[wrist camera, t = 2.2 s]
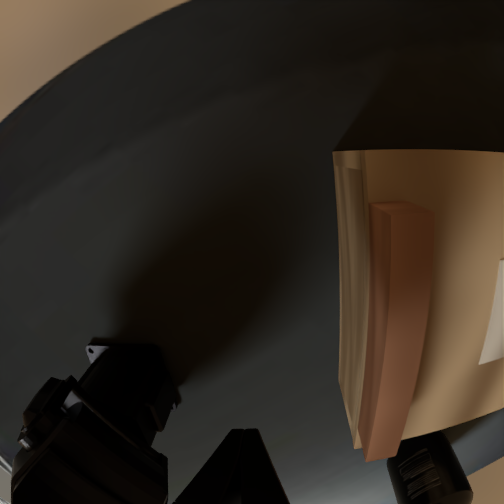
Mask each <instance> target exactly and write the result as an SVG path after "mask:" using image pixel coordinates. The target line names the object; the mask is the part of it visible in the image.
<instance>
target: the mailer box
mask: <svg viewBox="0 0 504 504" xmlns="http://www.w3.org/2000/svg"><path fill="white" fill-rule="evenodd" d="M332 153H333V164H334V176H335V189H336V203H337V220H338V240H339V271H340V348H339V378H338V380H339V384H340V388H341V392H342V396H343V400H344V404H345V408H346V412H347V417H348V421H349V425H350V429H351V434H352V438H353V436H354V429H355V422H356V414H357V406H358V397H359V387H360V377H361V365H362V352H363V337H364V317H365V281H366V246H365V210H364V190H363V175H362V162H361V150H356V151H335V152H332Z"/></svg>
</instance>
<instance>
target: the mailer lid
mask: <svg viewBox="0 0 504 504" xmlns="http://www.w3.org/2000/svg"><path fill="white" fill-rule="evenodd" d="M361 162H362V175H363V190H364V210H365V246H366V281H365V317H364V337H363V352H362V365H361V377H360V387H359V397H358V406H357V414H356V422H355V429H354V436H353V446H354V449H358V448H362V449H363V453H364V457H365V461H366V462H369V461H374V460H379V459H384V458H389V457H393V456H396V454H397V451H398V448H399V445H400V441H401V440H403V439H408V438H412V437H416V436H420V435H424V434H427V433H431V432H434V431H438V430H441V429H445V428H448V427H451V426H454V425H458V424H461V423H464V422H467V421H469V420H472V419H475V418H478V417H481V416H483V415H486V414H489V413H491V412H494V411H496V410H499V409H501V408H504V153H502V152H487V151H468V150H437V149H389V150H361Z"/></svg>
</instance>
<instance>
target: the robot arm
mask: <svg viewBox="0 0 504 504" xmlns="http://www.w3.org/2000/svg"><path fill="white" fill-rule="evenodd" d="M91 349H92V350H91ZM151 350H153V351H154V352H155V353H153V352H152V351H151ZM86 352H87V354H88V357H89V359H90V362H91V366H90V367H89V368H88V369H87V371H86V372H85V373H84V375H83V376H82V377H81V378H80V380H79V381H78V382H77V380H76V379H75V378H74V377H73V376H72V375H70V376H69V377H68V378H67V379H66V380H59V379H56V378H53V377H51V378H50V379H49V380H48V381H47V382H46V383H45V384H44V385H43V387H42V388H41V389H40V390H39V391H38V393H37V394H36V395H35V396H34V398H33V399H32V401H31V402H30V404H29V405H28V407H27V408H26V410H25V411H24V413H23V414H22V416H23V423H24V425H23V427H22V429H21V433H20V435H19V438H18V440H17V442H18V443H20V444H21V445H22V446H23V447H22V448H21V450H20V451H19V452H18V453H17V455H16V456H15V458H14V460H13V468H12V478H11V504H167V502H168V458H167V457H166V456H164V455H163V454H162V453H158V452H157V451H156V450H154V449H153V448H152V447H151V445H152V443H153V440H154V438H155V435H156V433H157V432H162V431H163V430H164V427H165V425H166V422H167V419H168V417H169V414H170V412H174V411H176V409H177V402H176V399H175V398H176V393H175V390H174V387H173V384H172V380H171V377H170V374H169V372H168V371H167V370H166V368H165V365H164V362H163V358H162V355H161V352H160V349H159V348H158V347H157V346H156V345H153V344H102V343H89V344H88V345H87V347H86ZM172 406H173V407H172ZM172 504H290V503H289V500H288V498H287V496H286V494H285V491H284V489H283V487H282V485H281V482H280V480H279V478H278V475H277V473H276V471H275V468H274V466H273V464H272V461H271V459H270V456H269V454H268V452H267V449H266V447H265V444H264V442H263V440H262V437H261V435H260V432H259V430H258V429H256V428H254V429H245V430H244V429H232V430H231V431H230V432H229V433H228V435H227V436H226V437H225V439H224V440H223V441H222V442H221V444H220V445H219V446H218V448H217V449H216V450H215V452H214V453H213V454H212V456H211V457H210V458H209V459H208V461H207V462H206V463H205V464H204V466H203V467H202V468H201V469H200V471H199V472H198V473H197V474H196V476H195V477H194V478H193V479H192V481H191V482H190V483H189V484H188V485H187V487H186V488H185V489H184V490H183V492H182V493H181V494H180V495H179V496H178V497H177V499H176V500H175V502H173V503H172Z"/></svg>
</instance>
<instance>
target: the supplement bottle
mask: <svg viewBox="0 0 504 504" xmlns="http://www.w3.org/2000/svg"><path fill="white" fill-rule="evenodd" d="M387 468H388V472H389V475H390V479H391V482H392V486H393V489H394V493H395V496H396V500H397V503H398V504H471V502H472V499H473V491H472V489H471V487H470V484H469V482H468V480H467V477H466V475H465V473H464V471H463V469H462V467H461V465H460V463H459V461H458V458H457V456H456V454H455V452H454V450H453V448H452V446H451V444H450V442H449V440H448V439H447V437H446V435H445V434H443V433H442V432H439V431H434V432H431V433H427V434H424V435H420V436H416V437H412V438H409V439H407V440H405V441H404V442H402V443H401V444H400V445H399V448H398V451H397V454H396V456H393V457H389V458H388V460H387Z"/></svg>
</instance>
